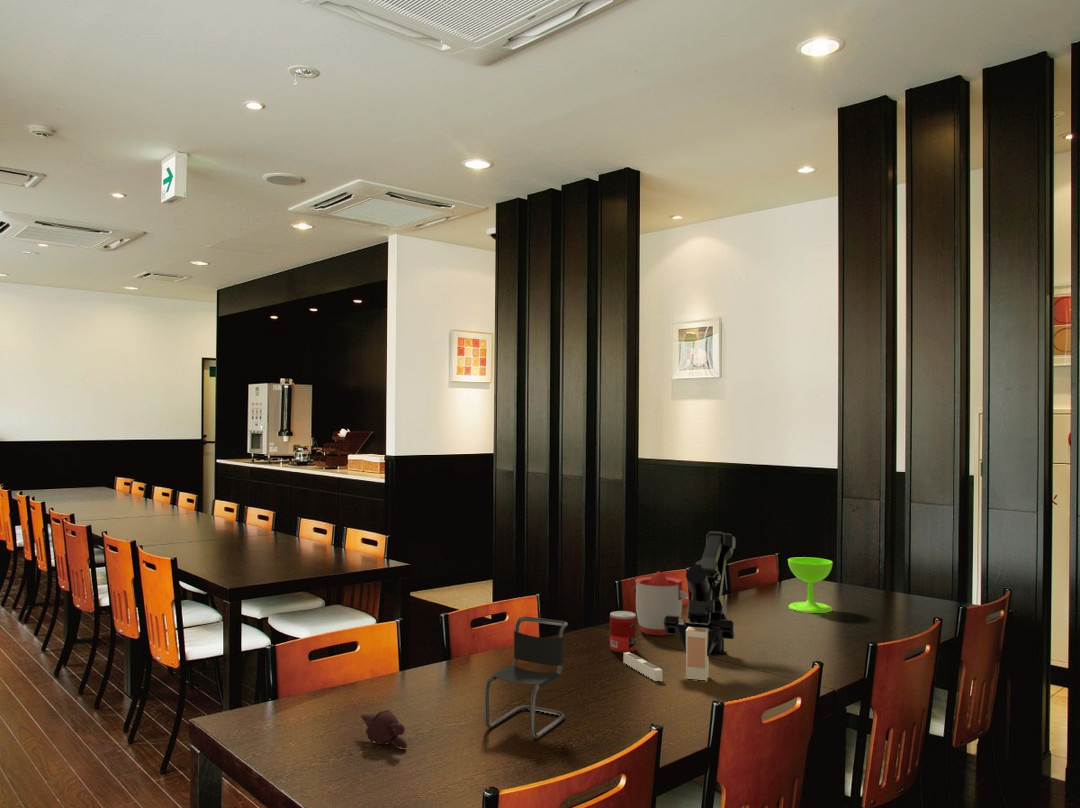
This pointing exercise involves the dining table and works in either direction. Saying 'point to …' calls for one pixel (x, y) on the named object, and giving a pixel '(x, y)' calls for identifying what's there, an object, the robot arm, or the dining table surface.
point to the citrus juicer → (658, 602)
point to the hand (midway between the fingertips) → (696, 654)
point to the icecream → (384, 728)
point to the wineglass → (810, 581)
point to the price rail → (643, 666)
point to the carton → (696, 653)
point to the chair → (536, 652)
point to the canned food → (623, 631)
